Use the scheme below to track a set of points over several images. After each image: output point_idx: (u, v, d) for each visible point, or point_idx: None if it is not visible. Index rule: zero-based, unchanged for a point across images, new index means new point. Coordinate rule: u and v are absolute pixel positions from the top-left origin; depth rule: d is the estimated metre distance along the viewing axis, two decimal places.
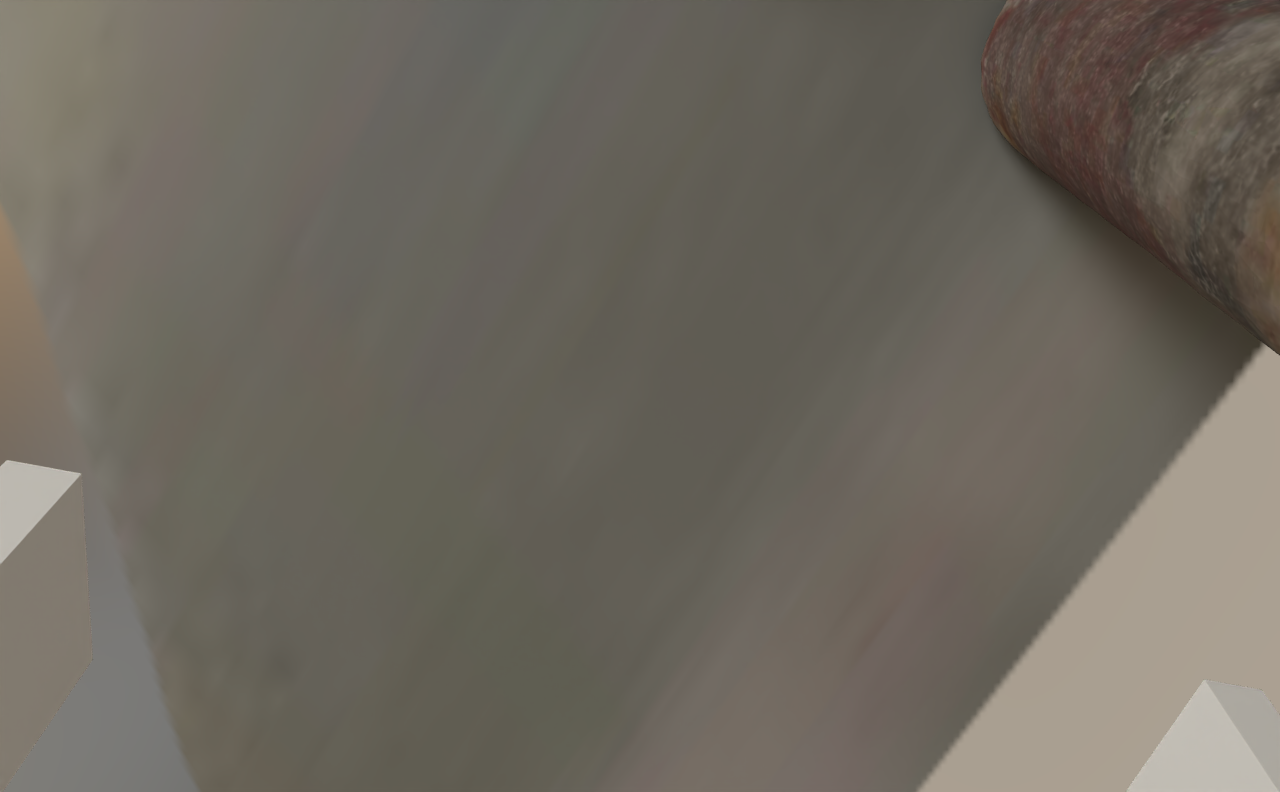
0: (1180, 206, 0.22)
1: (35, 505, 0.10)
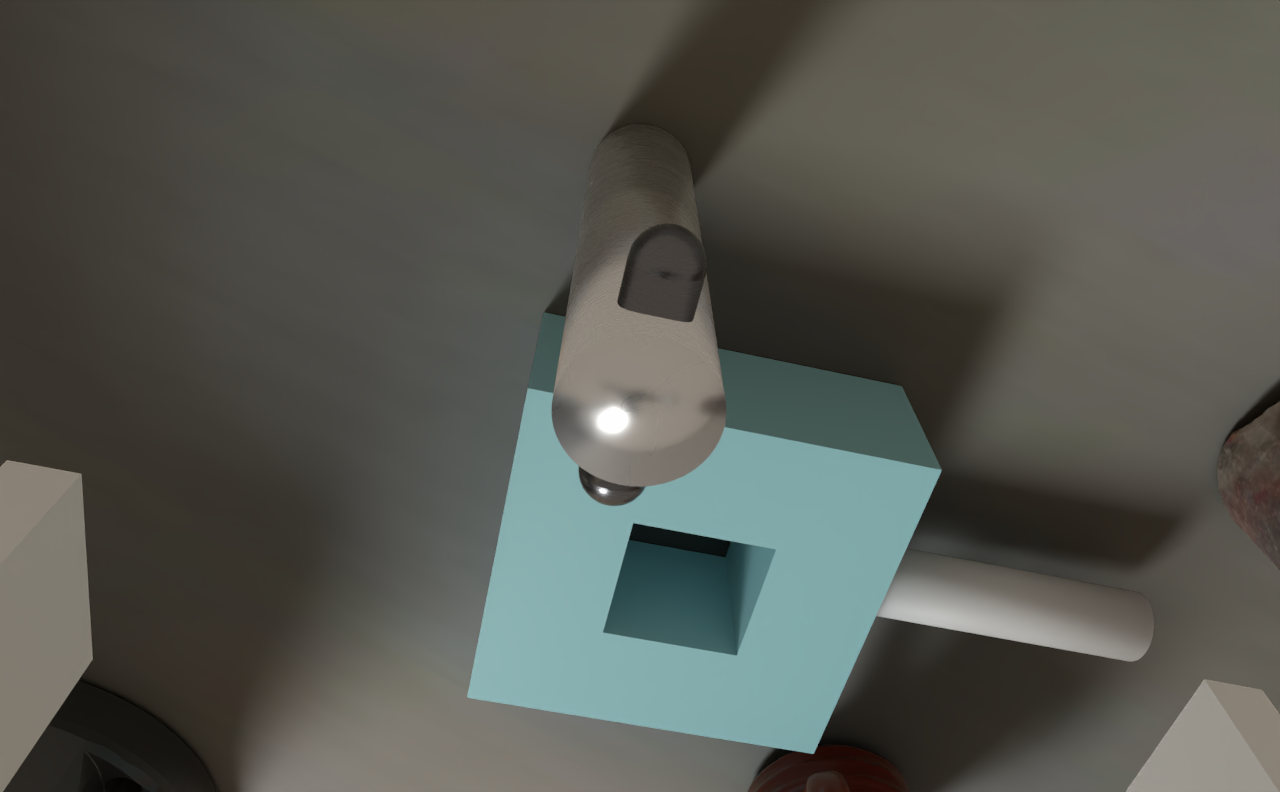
0: None
1: (35, 505, 0.10)
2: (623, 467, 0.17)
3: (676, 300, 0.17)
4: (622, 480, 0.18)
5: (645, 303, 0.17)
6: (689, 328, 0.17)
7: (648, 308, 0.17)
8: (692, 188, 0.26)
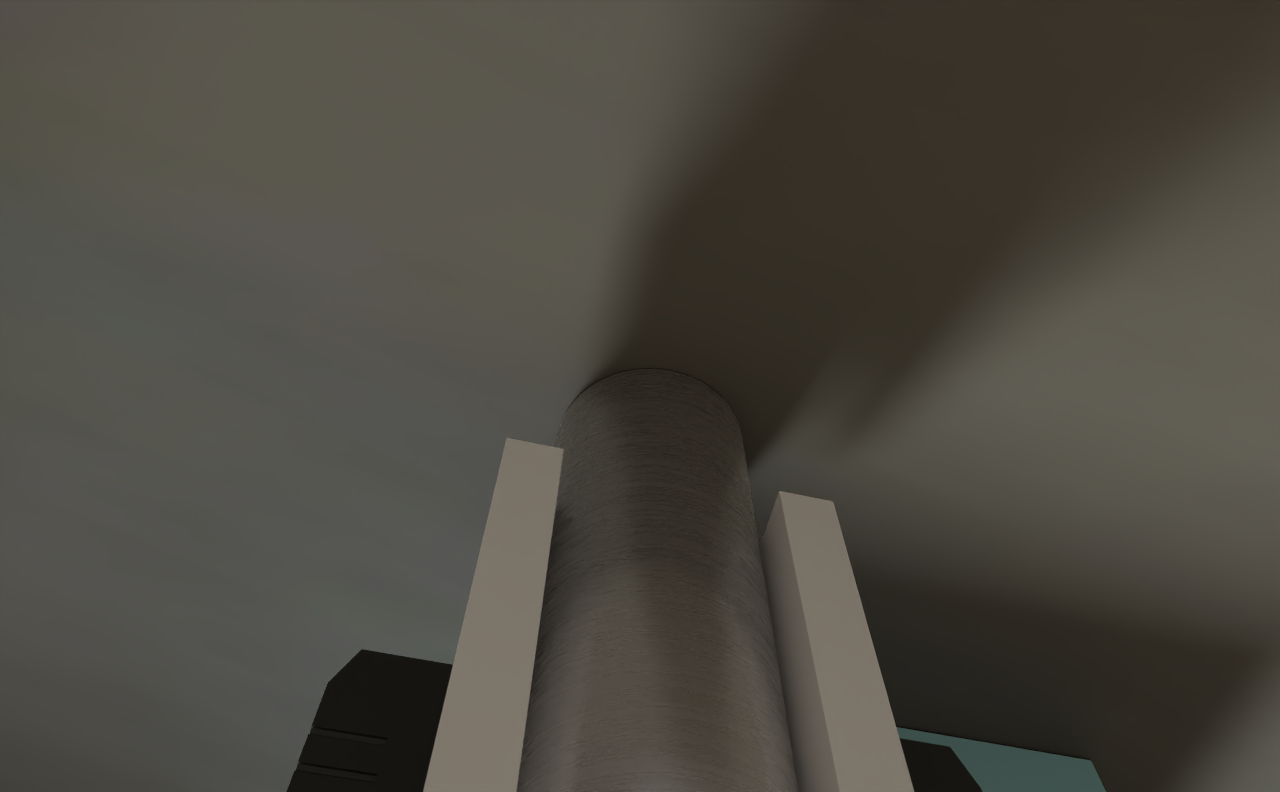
0: None
1: (548, 473, 0.12)
2: None
3: None
4: None
5: None
6: None
7: None
8: (756, 542, 0.13)
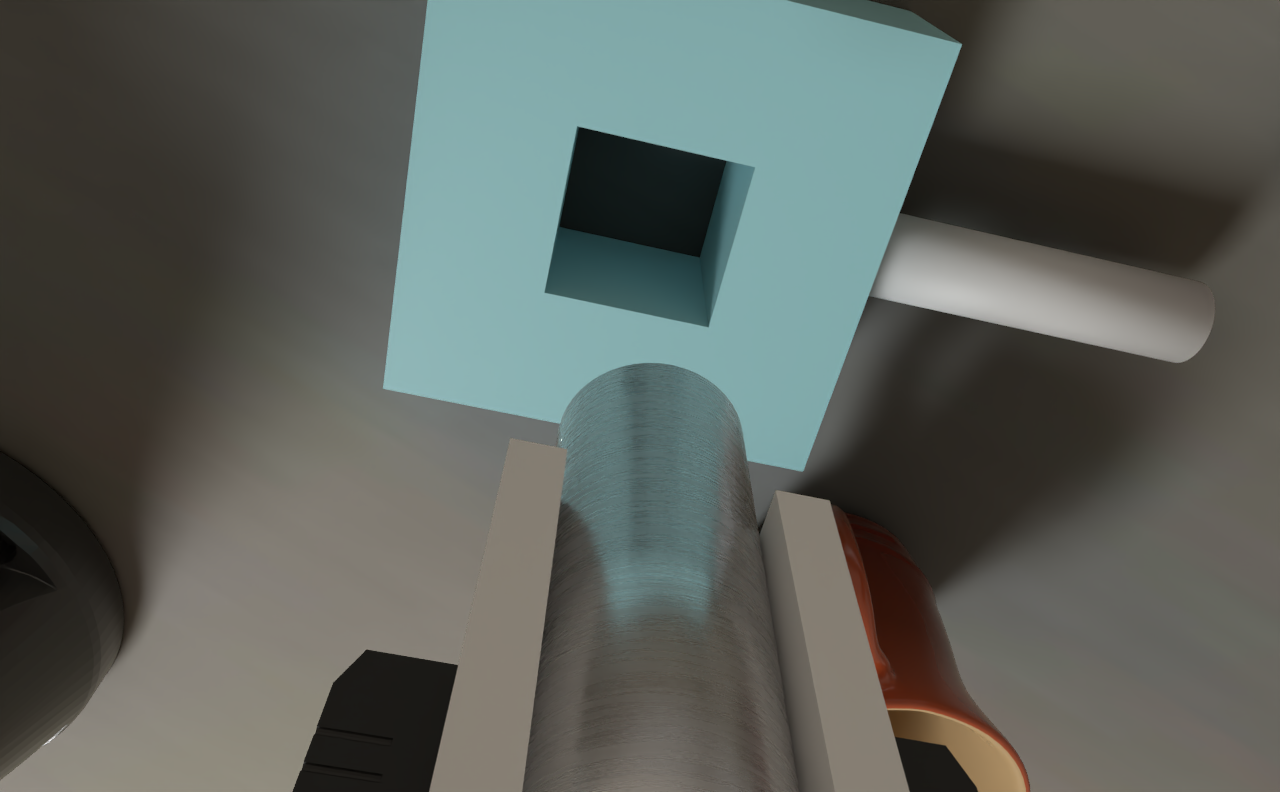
0: None
1: (551, 473, 0.12)
2: None
3: None
4: None
5: None
6: None
7: None
8: (756, 533, 0.13)
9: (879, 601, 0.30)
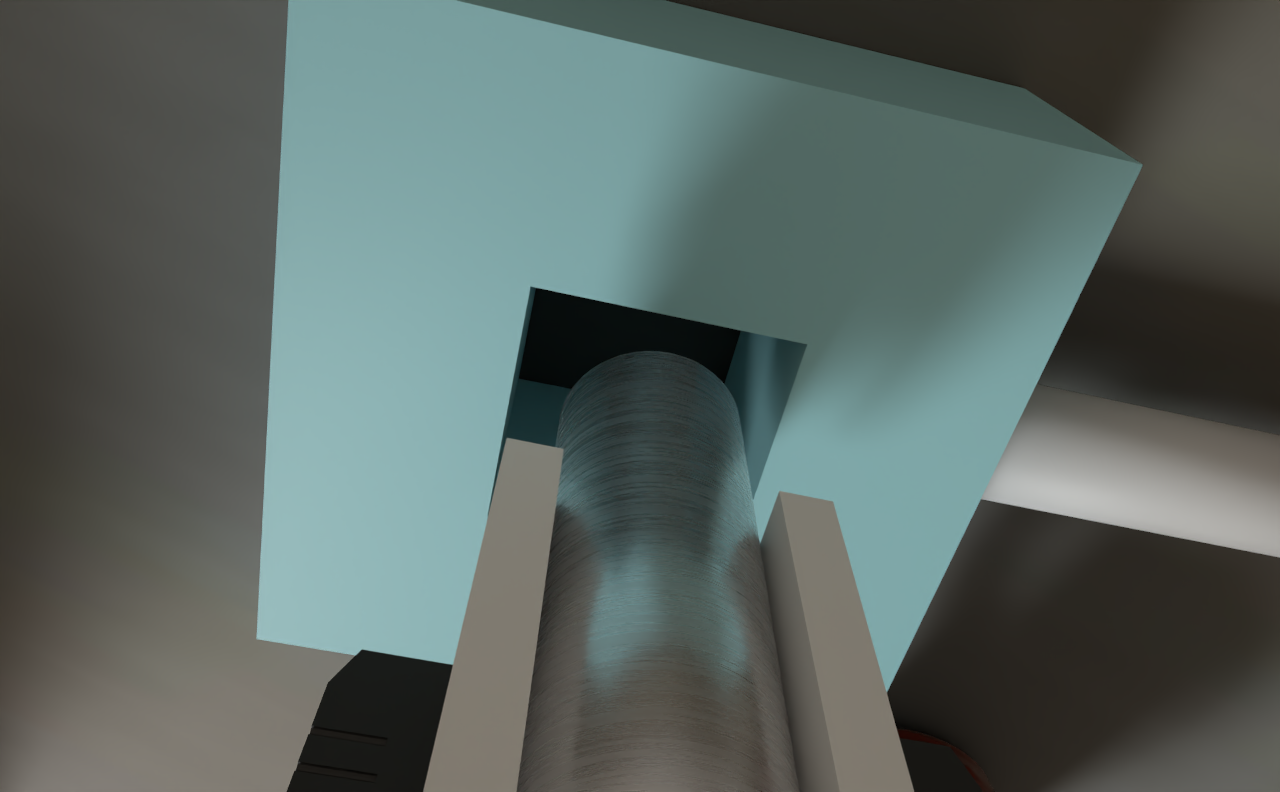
0: None
1: (547, 473, 0.12)
2: None
3: None
4: None
5: None
6: None
7: None
8: (753, 515, 0.13)
9: None
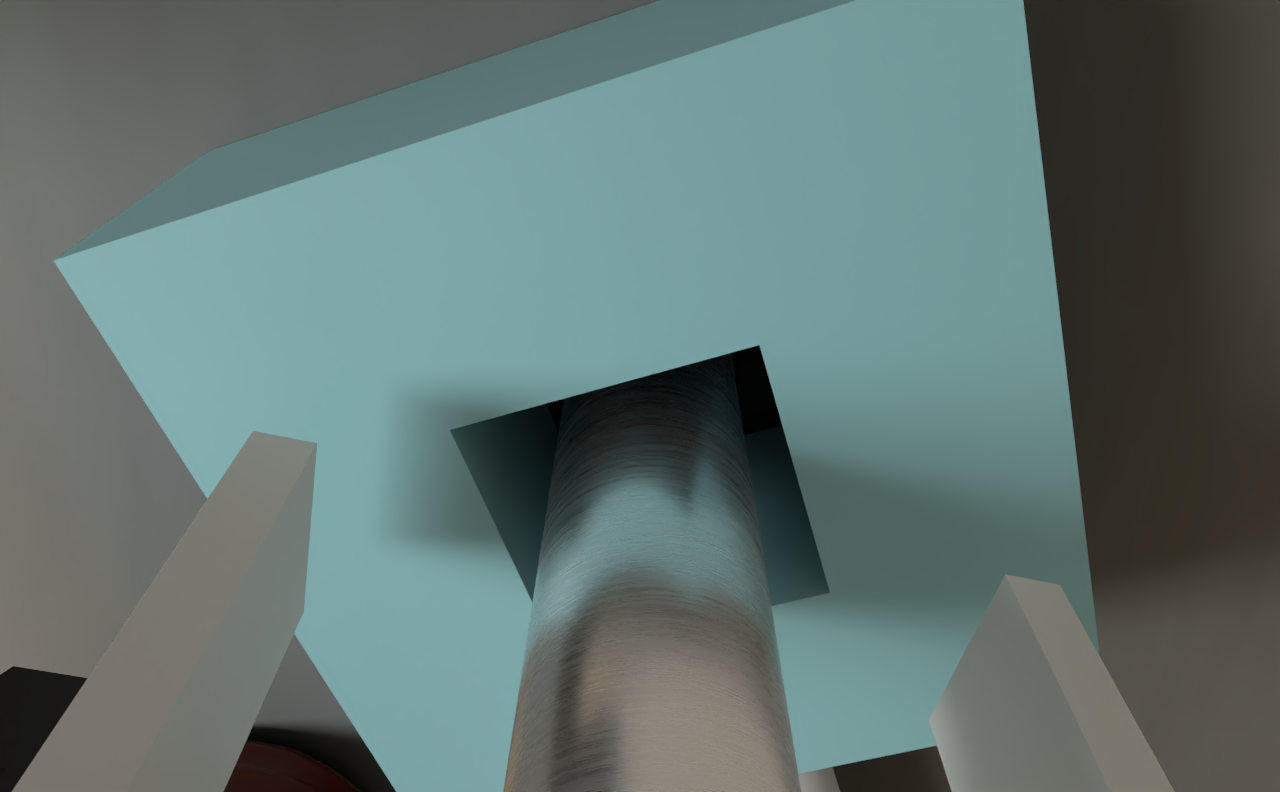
0: None
1: (287, 469, 0.11)
2: None
3: None
4: None
5: None
6: None
7: None
8: (738, 411, 0.16)
9: None
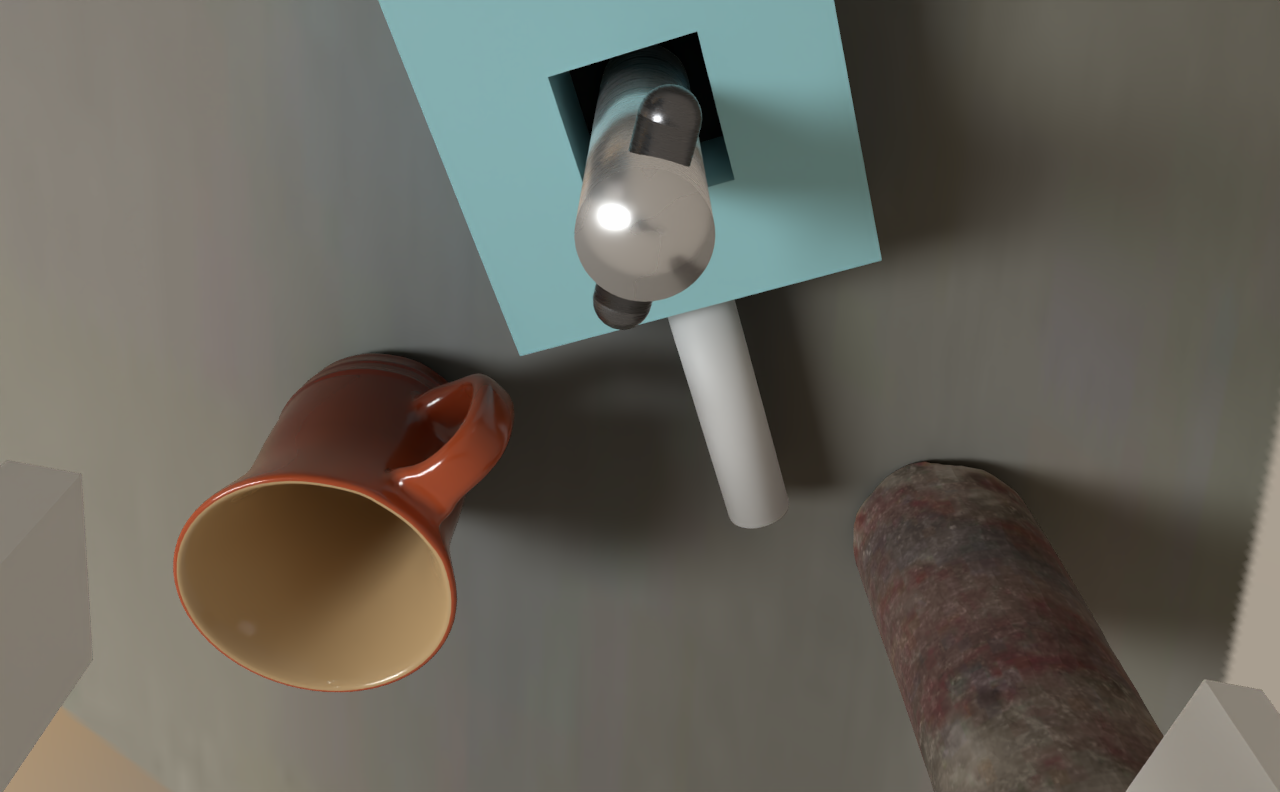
0: None
1: (35, 505, 0.10)
2: (631, 284, 0.21)
3: (677, 145, 0.21)
4: (629, 295, 0.22)
5: (651, 147, 0.21)
6: (686, 169, 0.21)
7: (654, 151, 0.21)
8: None
9: None
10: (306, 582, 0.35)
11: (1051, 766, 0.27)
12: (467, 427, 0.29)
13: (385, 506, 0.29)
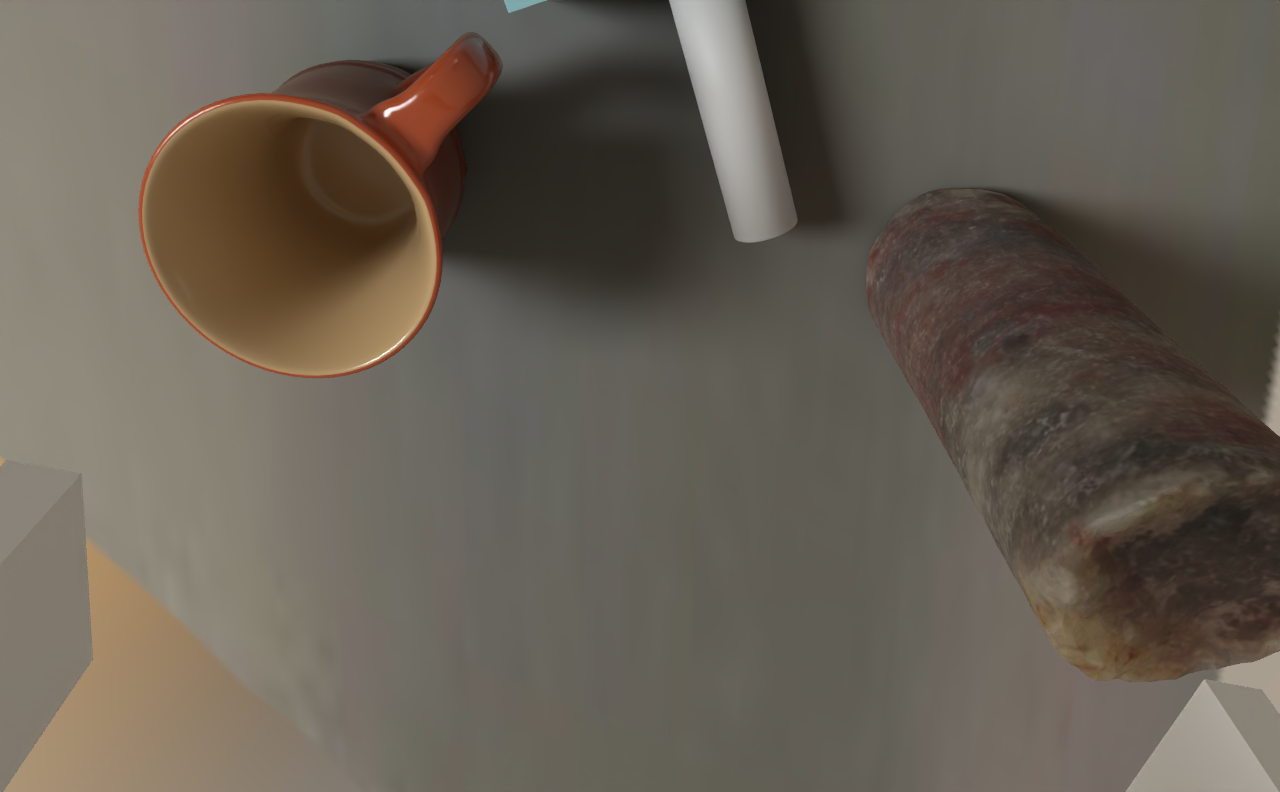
0: None
1: (34, 505, 0.10)
2: None
3: None
4: None
5: None
6: None
7: None
8: None
9: (437, 161, 0.32)
10: (285, 280, 0.33)
11: (1086, 378, 0.25)
12: (450, 51, 0.27)
13: (363, 132, 0.27)
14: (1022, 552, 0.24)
